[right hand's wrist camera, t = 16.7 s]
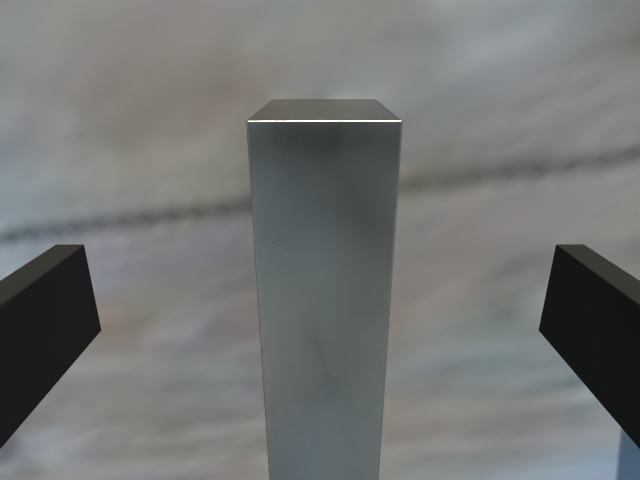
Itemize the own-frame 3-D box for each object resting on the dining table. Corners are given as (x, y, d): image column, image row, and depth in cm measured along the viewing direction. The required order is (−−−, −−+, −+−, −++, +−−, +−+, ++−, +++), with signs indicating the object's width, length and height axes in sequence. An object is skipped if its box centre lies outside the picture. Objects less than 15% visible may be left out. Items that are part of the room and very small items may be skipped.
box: (271, 99, 24) (245, 120, 16) (376, 99, 24) (403, 119, 16) (284, 411, 33) (272, 527, 25) (362, 411, 33) (375, 527, 25)
